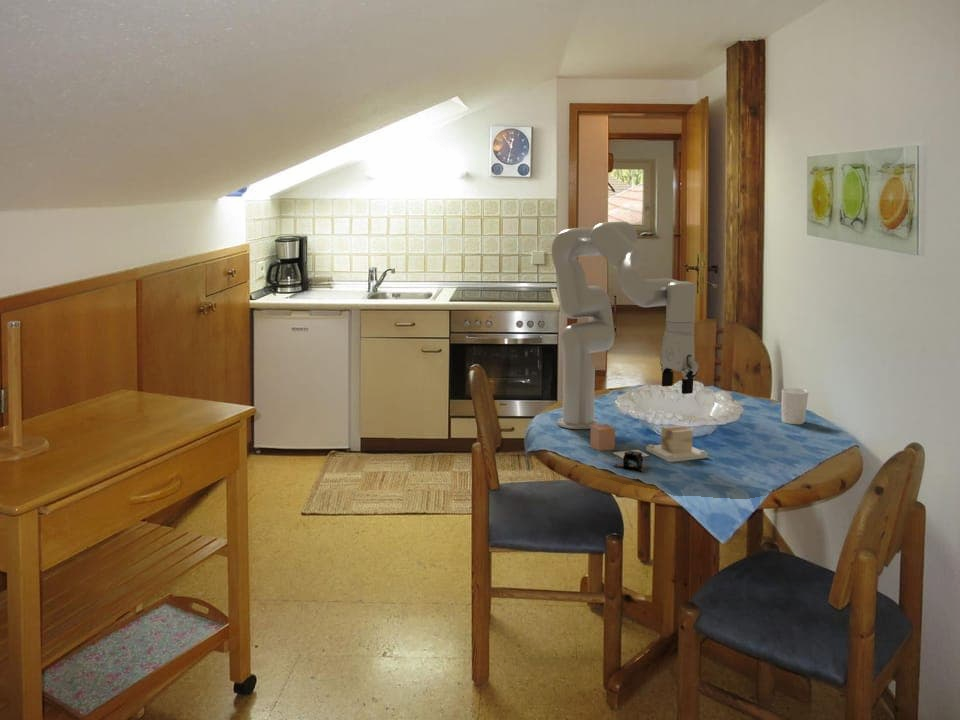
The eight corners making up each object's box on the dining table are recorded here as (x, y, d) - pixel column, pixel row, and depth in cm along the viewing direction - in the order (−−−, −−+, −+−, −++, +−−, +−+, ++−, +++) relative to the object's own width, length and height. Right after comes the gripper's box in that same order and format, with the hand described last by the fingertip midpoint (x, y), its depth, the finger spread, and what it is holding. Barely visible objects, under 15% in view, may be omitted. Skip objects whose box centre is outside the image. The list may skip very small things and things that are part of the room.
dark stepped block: (605, 469, 251) (605, 452, 250) (617, 462, 257) (618, 445, 256) (648, 477, 244) (649, 459, 243) (660, 470, 250) (661, 453, 249)
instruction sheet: (612, 453, 263) (612, 452, 263) (638, 450, 266) (638, 449, 266) (623, 458, 258) (623, 458, 257) (649, 455, 260) (649, 455, 260)
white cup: (774, 419, 301) (776, 388, 299) (795, 418, 303) (798, 387, 301) (789, 425, 293) (791, 394, 291) (811, 424, 295) (813, 392, 294)
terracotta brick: (590, 446, 270) (590, 425, 269) (605, 444, 272) (606, 424, 271) (598, 450, 265) (599, 430, 264) (614, 449, 267) (615, 428, 266)
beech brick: (661, 448, 264) (661, 427, 263) (679, 445, 266) (680, 425, 265) (672, 453, 258) (673, 432, 257) (691, 451, 260) (692, 430, 259)
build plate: (646, 450, 266) (646, 444, 265) (682, 446, 270) (683, 440, 270) (669, 462, 255) (669, 456, 254) (707, 457, 259) (707, 451, 259)
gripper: (650, 323, 262) (648, 384, 266) (686, 333, 247) (682, 397, 250) (674, 322, 265) (671, 382, 268) (710, 331, 249) (707, 395, 253)
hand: (676, 389), depth 259 cm, fingers open, 9 cm apart
